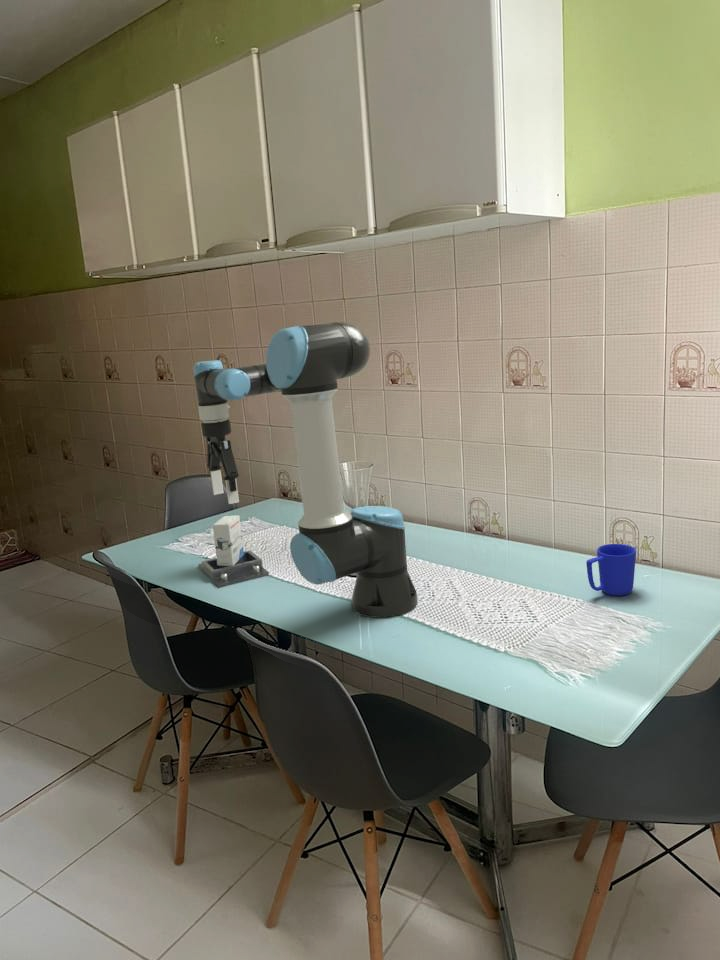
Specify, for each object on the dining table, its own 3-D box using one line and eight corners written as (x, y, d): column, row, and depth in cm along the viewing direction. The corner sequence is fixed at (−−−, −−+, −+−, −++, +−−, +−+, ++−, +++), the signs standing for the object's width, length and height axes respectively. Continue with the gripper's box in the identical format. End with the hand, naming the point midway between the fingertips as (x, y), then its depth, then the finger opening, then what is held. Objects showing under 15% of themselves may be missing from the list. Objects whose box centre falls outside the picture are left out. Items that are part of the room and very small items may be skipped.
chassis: (269, 575, 195) (267, 564, 194) (218, 587, 189) (217, 577, 188) (245, 555, 212) (244, 546, 211) (198, 567, 206) (197, 557, 205)
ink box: (228, 555, 204) (223, 515, 202) (245, 555, 203) (240, 514, 201) (217, 566, 196) (211, 524, 193) (234, 566, 195) (228, 524, 192)
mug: (576, 593, 165) (575, 552, 162) (618, 582, 169) (617, 541, 167) (601, 605, 157) (600, 562, 155) (644, 593, 162) (644, 550, 160)
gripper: (244, 422, 181) (254, 504, 186) (215, 414, 203) (225, 487, 208) (215, 427, 178) (226, 510, 183) (189, 418, 200) (199, 492, 205)
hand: (226, 498), depth 196 cm, fingers open, 13 cm apart
